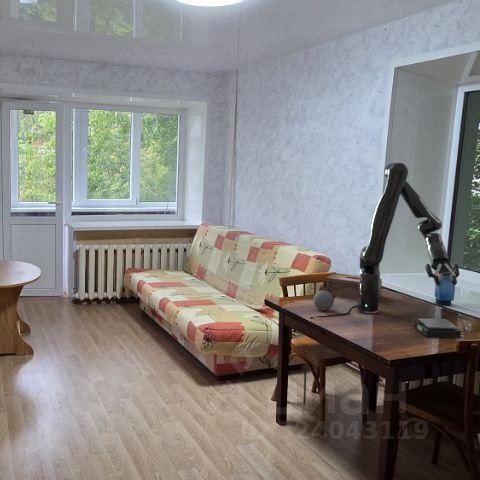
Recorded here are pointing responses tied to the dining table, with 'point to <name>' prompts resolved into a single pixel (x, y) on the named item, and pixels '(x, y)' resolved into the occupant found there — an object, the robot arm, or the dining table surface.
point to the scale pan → (437, 324)
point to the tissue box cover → (345, 285)
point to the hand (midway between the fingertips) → (446, 284)
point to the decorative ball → (323, 300)
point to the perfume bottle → (445, 288)
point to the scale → (437, 331)
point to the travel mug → (443, 302)
